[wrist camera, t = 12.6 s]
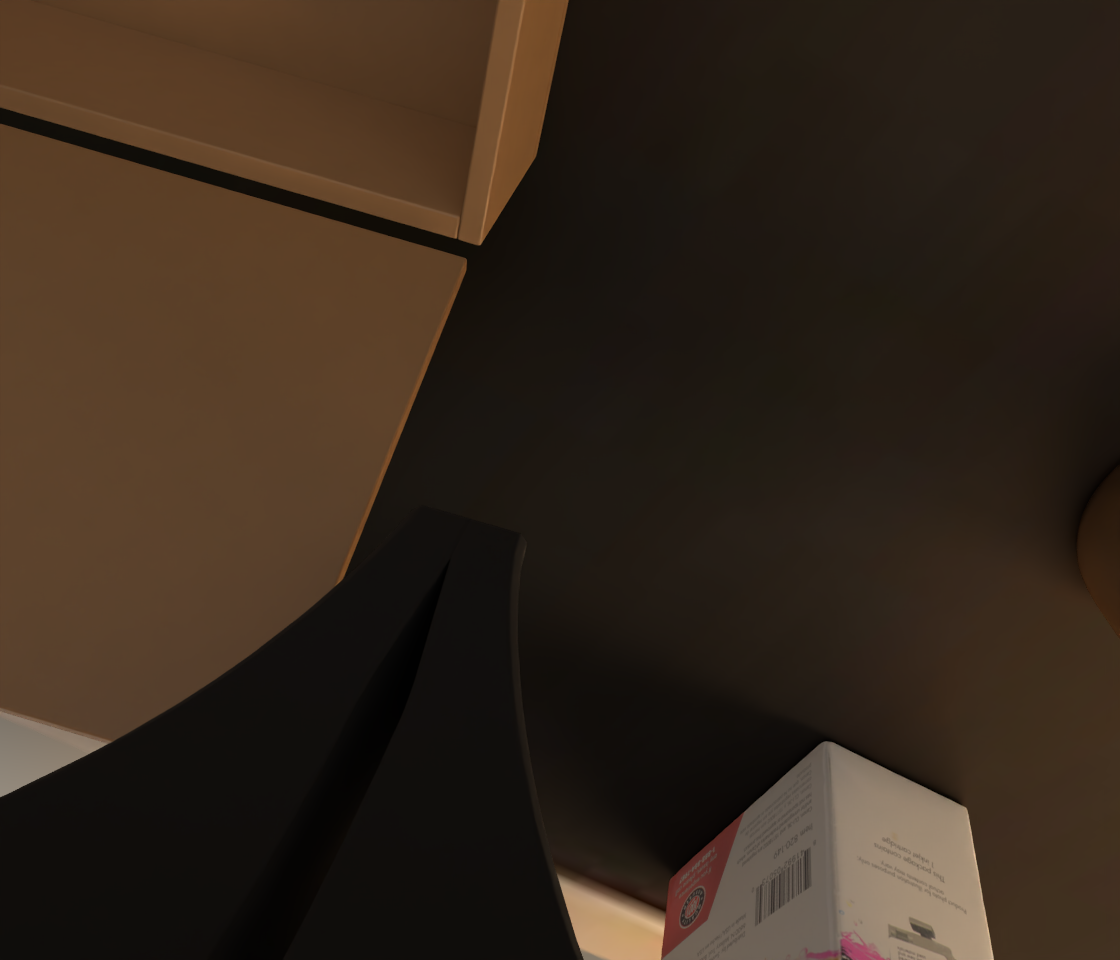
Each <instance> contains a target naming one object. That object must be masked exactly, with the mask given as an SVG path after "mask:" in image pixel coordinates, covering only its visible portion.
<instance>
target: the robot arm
mask: <svg viewBox="0 0 1120 960" xmlns="http://www.w3.org/2000/svg"><path fill="white" fill-rule="evenodd" d="M526 547H527V542H526V541H525V539H524V538H523V536H522V535H521V533H517V532H514V531H511V530H507V529H504V528H500V527H497V526H493V525H490V524H486V523H483V522H479V521H476V520H472V519H469V518H465V517H462V516H458V515H455V514H451V513H448V512H445V511H441V510H438V509H434V508H431V507H427V506H424V505H421V506H419V507H417V508H414V509H412V510H411V511H410V512H409V513H408V515H407V516H406V517H405V518H404V519H403V520H402V522H401V523H400V524H399V525H398V526H397V527H396V528H395V529H394V530H393V531H392V532H391V533H390V535H389V536H388V537H387V538H386V539H385V540H384V541H383V542H382V543H381V544H380V545H379V546H378V547H377V548H376V549H375V550H374V551H373V552H372V553H371V554H370V555H369V556H368V557H366V558H365V559H364V560H363V561H362V562H361V563H360V564H359V565H358V566H357V567H356V568H355V569H354V570H353V571H352V572H351V573H350V574H348V575H347V576H346V577H345V578H344V579H343V580H342V581H340V582H339V583H338V584H337V585H336V586H335V587H334V588H333V589H331V590H330V591H329V592H328V593H327V594H326V595H325V596H323V597H322V598H321V599H320V600H319V601H318V602H317V603H315V604H314V605H313V606H312V607H311V608H310V609H308V610H307V611H306V612H305V613H304V614H302V615H301V616H300V617H299V618H297V619H296V620H295V621H293V622H292V623H291V624H290V625H288V626H287V627H286V628H284V629H283V630H282V631H281V632H279V633H278V634H277V635H275V636H274V637H273V638H272V639H270V640H269V641H268V642H266V643H265V644H264V645H263V646H261V647H260V648H259V649H257V650H256V651H255V652H253V653H252V654H251V655H249V656H248V657H247V658H245V659H244V660H242V661H241V662H240V663H238V664H237V665H235V666H234V667H232V668H231V669H230V670H228V671H227V672H225V673H224V674H222V675H221V676H219V677H218V678H216V679H215V680H214V681H212V682H210V683H209V684H207V685H206V686H204V687H203V688H201V689H200V690H198V691H197V692H195V693H194V694H192V695H191V696H189V697H187V698H186V699H184V700H183V701H181V702H180V703H178V704H176V705H175V706H173V707H171V708H170V709H168V710H166V711H164V712H163V713H161V714H159V715H158V716H156V717H154V718H153V719H151V720H149V721H148V722H146V723H144V724H142V725H141V726H139V727H137V728H136V729H134V730H132V731H131V732H129V733H127V734H125V735H124V736H122V737H120V738H118V739H116V740H114V741H113V742H111V743H109V744H107V745H105V746H104V747H102V748H100V749H98V750H96V751H94V752H92V753H90V754H88V755H86V756H85V757H82V758H80V759H78V760H76V761H74V762H72V763H71V764H68V765H66V766H64V767H62V768H60V769H58V770H56V771H54V772H52V773H50V774H48V775H46V776H43V777H41V778H39V779H37V780H35V781H33V782H31V783H29V784H27V785H25V786H23V787H21V788H19V789H17V790H15V791H13V792H11V793H9V794H7V795H4V796H2V797H0V960H583V957H582V954H581V951H580V948H579V945H578V943H577V940H576V937H575V934H574V930H573V927H572V924H571V920H570V917H569V914H568V910H567V907H566V904H565V900H564V897H563V894H562V890H561V887H560V884H559V880H558V877H557V874H556V870H555V867H554V864H553V860H552V856H551V853H550V848H549V844H548V840H547V836H546V832H545V828H544V824H543V819H542V815H541V811H540V806H539V801H538V796H537V792H536V787H535V782H534V777H533V771H532V766H531V760H530V754H529V748H528V741H527V734H526V726H525V719H524V711H523V703H522V693H521V682H520V666H519V649H518V594H519V582H520V573H521V567H522V563H523V559H524V555H525V551H526Z"/></svg>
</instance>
